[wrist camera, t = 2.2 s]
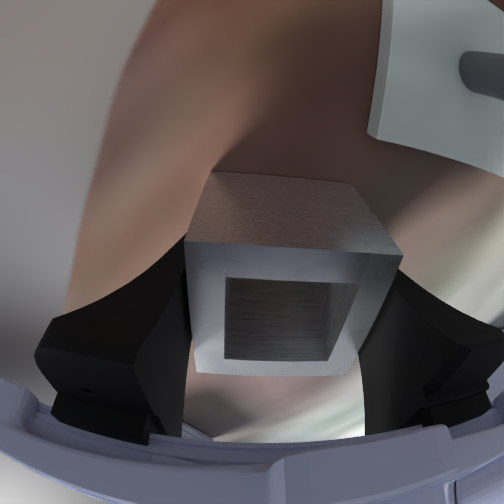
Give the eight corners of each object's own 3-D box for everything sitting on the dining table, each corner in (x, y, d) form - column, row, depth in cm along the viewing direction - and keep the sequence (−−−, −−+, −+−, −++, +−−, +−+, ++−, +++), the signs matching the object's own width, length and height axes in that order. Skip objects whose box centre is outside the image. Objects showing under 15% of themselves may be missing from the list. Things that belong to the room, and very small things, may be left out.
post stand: (518, 33, 6) (599, 50, 1) (497, 172, 10) (570, 228, 6) (383, -43, 5) (461, -88, 1) (366, 133, 10) (446, 188, 5)
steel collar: (351, 184, 11) (403, 255, 7) (324, 290, 14) (345, 374, 10) (210, 171, 11) (183, 240, 7) (210, 283, 14) (196, 372, 10)
